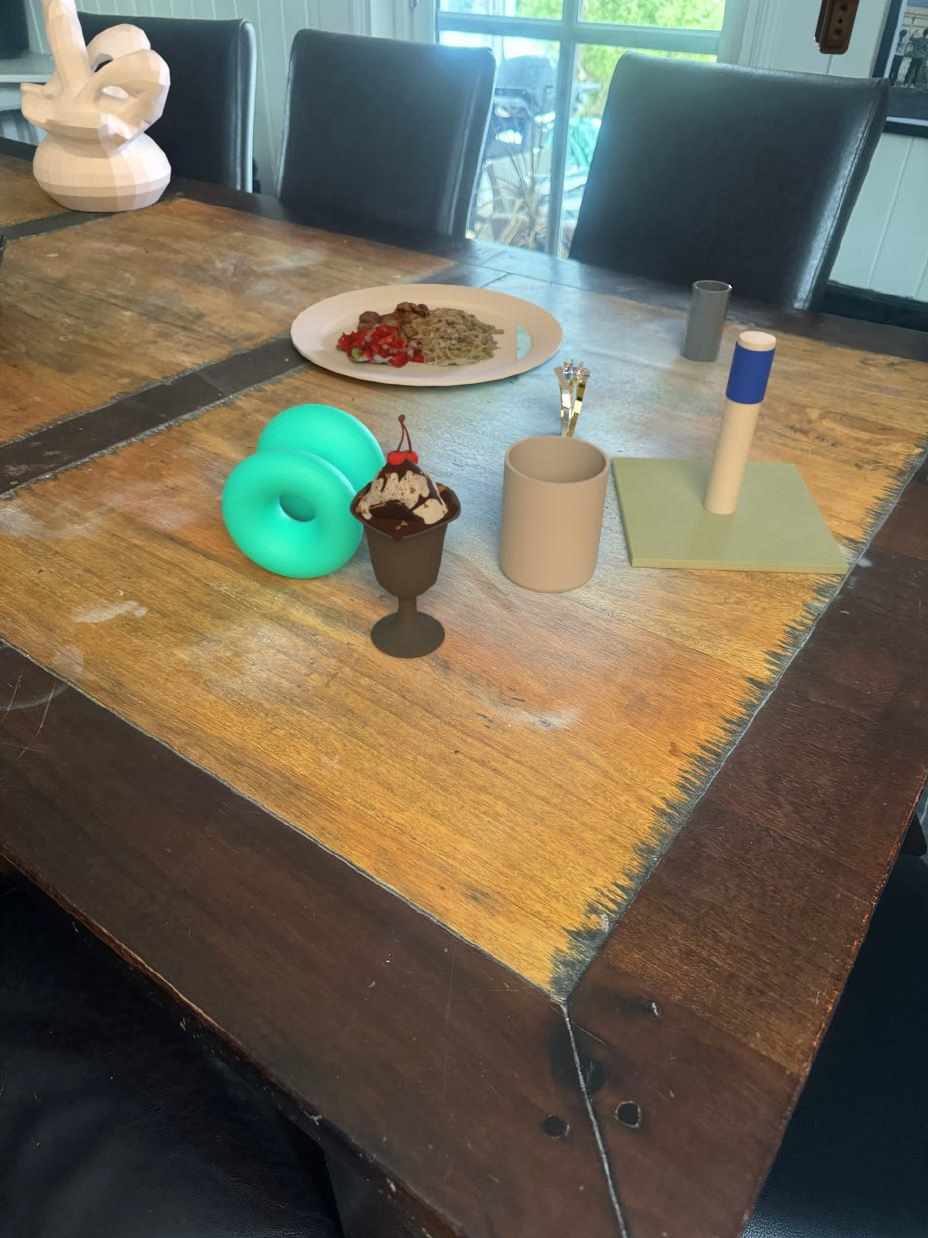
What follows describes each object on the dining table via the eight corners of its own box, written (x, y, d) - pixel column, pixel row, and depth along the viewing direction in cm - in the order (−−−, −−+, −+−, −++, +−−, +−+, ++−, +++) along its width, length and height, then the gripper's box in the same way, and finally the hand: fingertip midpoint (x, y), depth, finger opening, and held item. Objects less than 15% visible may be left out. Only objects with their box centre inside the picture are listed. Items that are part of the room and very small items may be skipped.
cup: (488, 585, 66) (493, 476, 60) (517, 516, 73) (524, 413, 68) (587, 602, 64) (602, 492, 59) (606, 530, 72) (621, 426, 66)
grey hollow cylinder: (713, 353, 102) (727, 280, 97) (719, 367, 99) (734, 292, 94) (678, 352, 102) (690, 279, 97) (683, 366, 99) (696, 291, 94)
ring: (580, 466, 80) (589, 380, 75) (543, 463, 80) (551, 377, 75) (583, 431, 86) (592, 349, 81) (548, 428, 86) (556, 346, 81)
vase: (193, 216, 142) (151, -65, 120) (39, 226, 135) (-34, -69, 114) (174, 175, 163) (136, -70, 141) (41, 182, 157) (-21, -74, 135)
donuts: (226, 578, 66) (204, 453, 60) (270, 508, 73) (256, 391, 67) (361, 593, 65) (353, 468, 58) (391, 520, 72) (388, 403, 66)
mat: (792, 471, 80) (794, 462, 80) (846, 575, 68) (849, 566, 67) (611, 464, 81) (612, 456, 80) (631, 567, 68) (632, 558, 67)
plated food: (596, 324, 108) (600, 295, 106) (497, 423, 86) (499, 390, 84) (375, 284, 118) (374, 257, 116) (236, 365, 96) (232, 333, 94)
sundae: (416, 593, 65) (413, 394, 56) (477, 640, 61) (485, 434, 51) (338, 629, 61) (321, 423, 52) (397, 681, 57) (390, 468, 48)
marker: (733, 498, 75) (772, 330, 66) (740, 516, 72) (782, 345, 64) (699, 497, 75) (733, 329, 66) (705, 515, 73) (742, 343, 64)
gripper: (961, -230, 59) (885, 61, 69) (931, -207, 70) (869, 42, 80) (840, -230, 61) (783, 55, 71) (829, -207, 72) (781, 37, 82)
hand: (828, 48), depth 75 cm, fingers open, 8 cm apart
